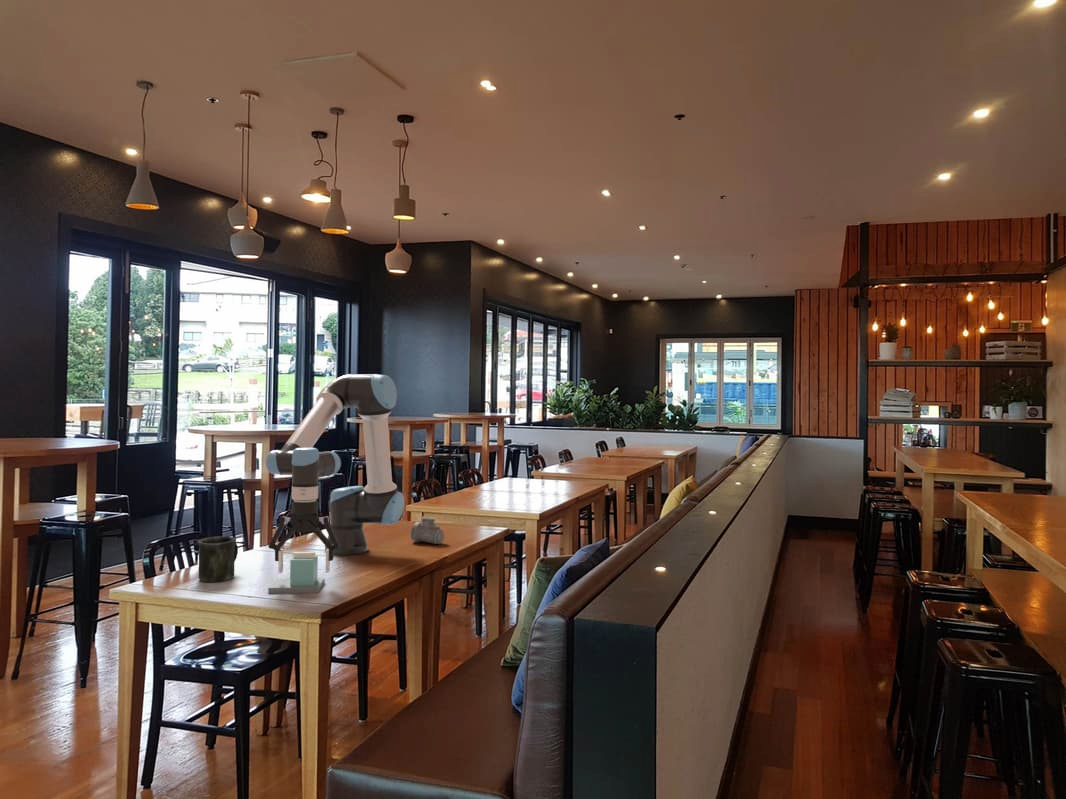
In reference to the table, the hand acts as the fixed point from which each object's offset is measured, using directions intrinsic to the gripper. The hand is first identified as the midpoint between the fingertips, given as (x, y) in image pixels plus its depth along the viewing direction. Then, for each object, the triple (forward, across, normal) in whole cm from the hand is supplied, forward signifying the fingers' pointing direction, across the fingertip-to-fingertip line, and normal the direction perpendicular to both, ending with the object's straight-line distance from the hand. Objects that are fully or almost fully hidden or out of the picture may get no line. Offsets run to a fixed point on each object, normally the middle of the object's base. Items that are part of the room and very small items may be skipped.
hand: (304, 572), depth 228 cm
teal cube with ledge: (+3, 0, 0) cm, 3 cm away
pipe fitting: (+5, +34, +64) cm, 73 cm away
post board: (+5, -2, 0) cm, 5 cm away
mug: (+5, -28, +14) cm, 31 cm away
